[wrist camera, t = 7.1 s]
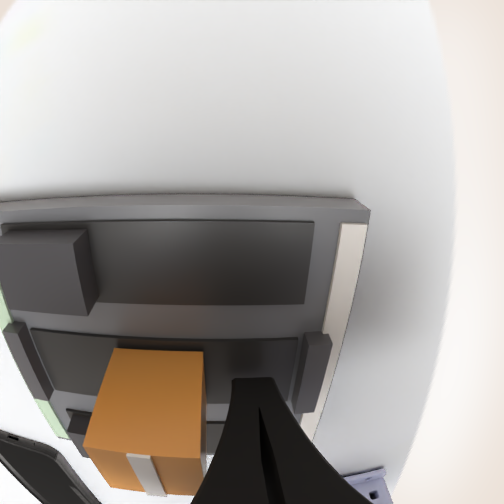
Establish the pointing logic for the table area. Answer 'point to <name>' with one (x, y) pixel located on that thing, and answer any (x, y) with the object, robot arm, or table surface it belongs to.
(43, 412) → the panel
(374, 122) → the table surface
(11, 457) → the phone
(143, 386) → the handle
